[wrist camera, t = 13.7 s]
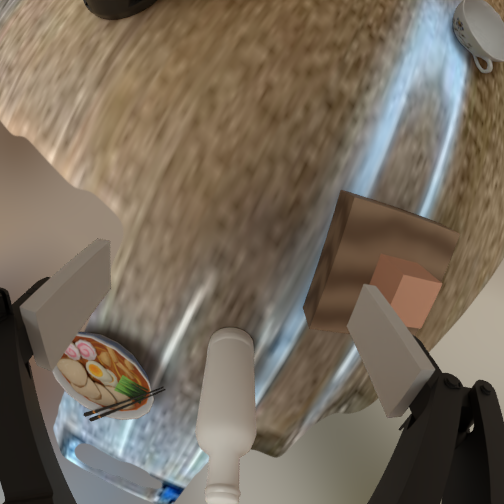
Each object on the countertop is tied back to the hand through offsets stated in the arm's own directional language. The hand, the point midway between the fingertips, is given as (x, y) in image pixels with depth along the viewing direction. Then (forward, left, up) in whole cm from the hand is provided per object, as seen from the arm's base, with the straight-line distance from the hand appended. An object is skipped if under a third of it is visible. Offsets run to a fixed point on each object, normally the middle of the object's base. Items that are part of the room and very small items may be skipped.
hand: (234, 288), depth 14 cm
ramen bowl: (+37, -20, -29) cm, 51 cm away
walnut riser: (+6, +24, -29) cm, 38 cm away
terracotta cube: (+6, +24, -23) cm, 33 cm away
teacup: (-40, +32, -29) cm, 59 cm away
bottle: (+26, +4, -29) cm, 39 cm away
